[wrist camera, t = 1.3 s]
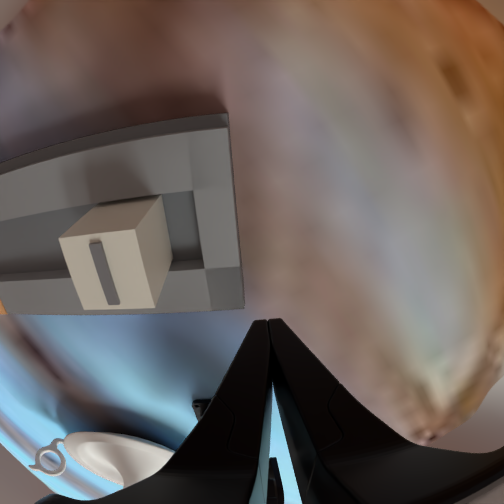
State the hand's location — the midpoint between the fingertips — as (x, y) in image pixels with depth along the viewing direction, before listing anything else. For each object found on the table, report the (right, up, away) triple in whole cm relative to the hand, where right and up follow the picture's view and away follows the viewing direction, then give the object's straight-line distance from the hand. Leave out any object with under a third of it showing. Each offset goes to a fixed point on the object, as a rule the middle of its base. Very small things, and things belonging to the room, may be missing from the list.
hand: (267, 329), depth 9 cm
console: (-14, +4, +10) cm, 18 cm away
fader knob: (-7, +4, +8) cm, 12 cm away
